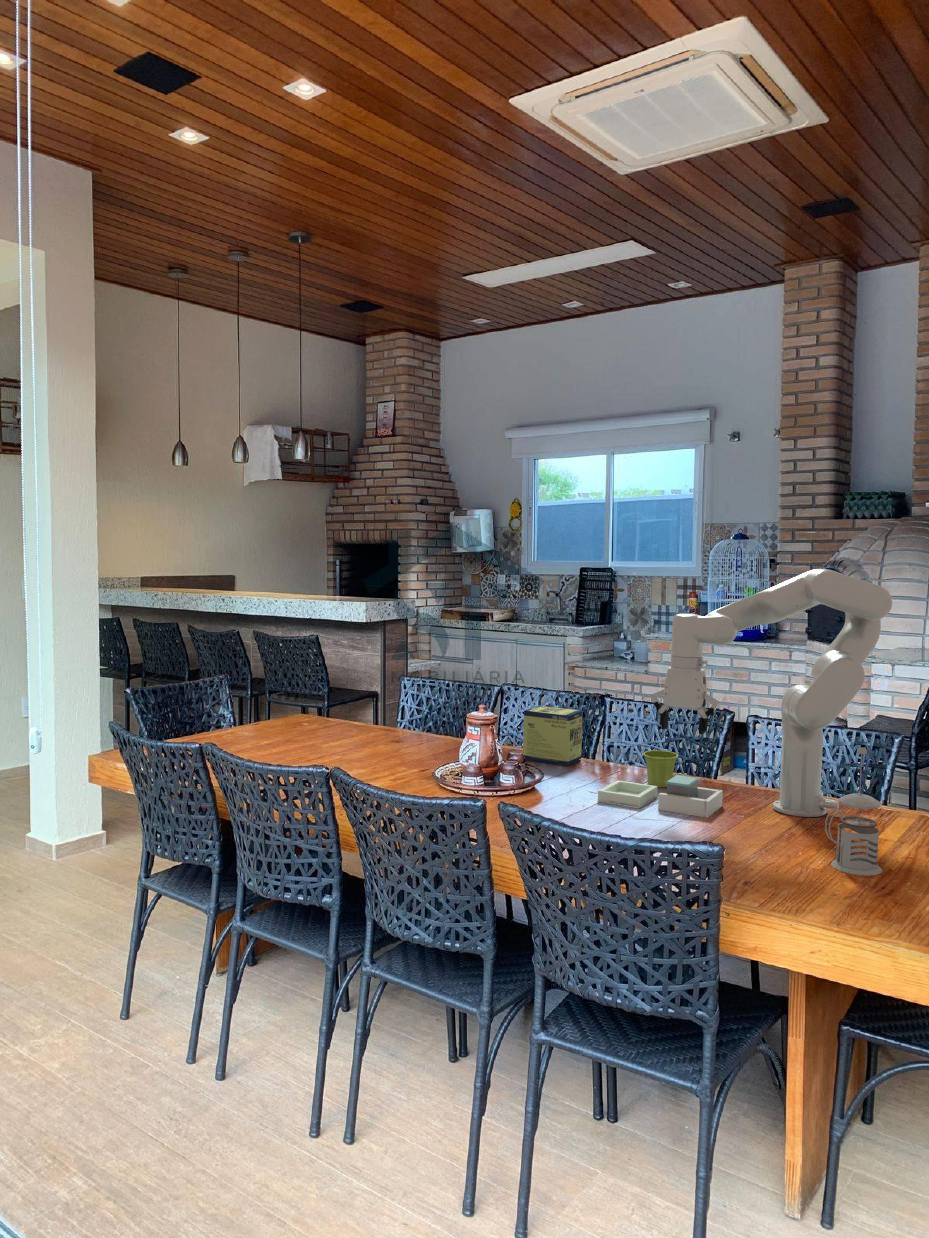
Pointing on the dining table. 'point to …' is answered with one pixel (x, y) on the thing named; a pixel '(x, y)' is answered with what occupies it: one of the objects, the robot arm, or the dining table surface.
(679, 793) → the grey cube with lid
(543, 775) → the dining table surface
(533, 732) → the protein box
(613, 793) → the tray
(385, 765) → the dining table surface
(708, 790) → the bay
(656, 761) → the plant pot
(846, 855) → the french press
